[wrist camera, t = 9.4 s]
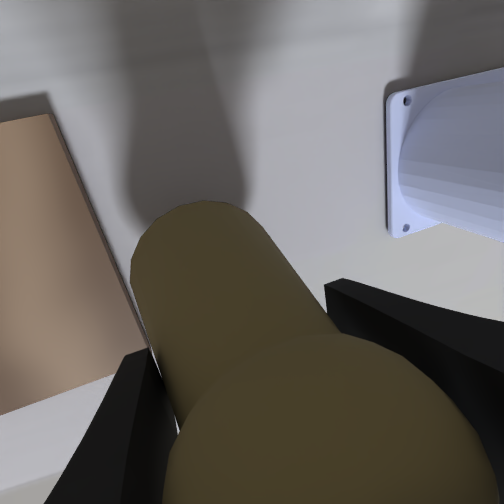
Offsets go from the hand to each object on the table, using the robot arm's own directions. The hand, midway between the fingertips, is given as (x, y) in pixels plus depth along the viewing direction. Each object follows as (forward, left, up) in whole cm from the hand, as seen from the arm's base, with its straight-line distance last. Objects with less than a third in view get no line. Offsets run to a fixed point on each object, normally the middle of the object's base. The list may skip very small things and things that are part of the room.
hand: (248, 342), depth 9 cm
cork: (0, 0, -5) cm, 5 cm away
